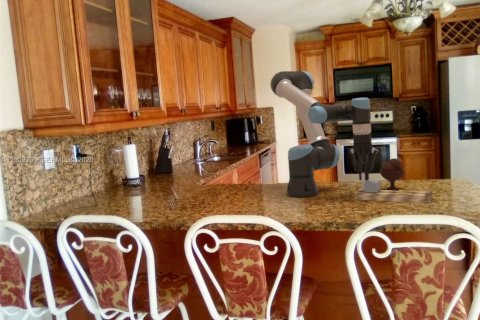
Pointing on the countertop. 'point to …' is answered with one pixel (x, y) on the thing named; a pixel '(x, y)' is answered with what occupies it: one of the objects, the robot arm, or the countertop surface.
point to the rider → (372, 186)
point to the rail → (396, 196)
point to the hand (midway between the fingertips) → (364, 187)
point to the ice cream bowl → (392, 172)
